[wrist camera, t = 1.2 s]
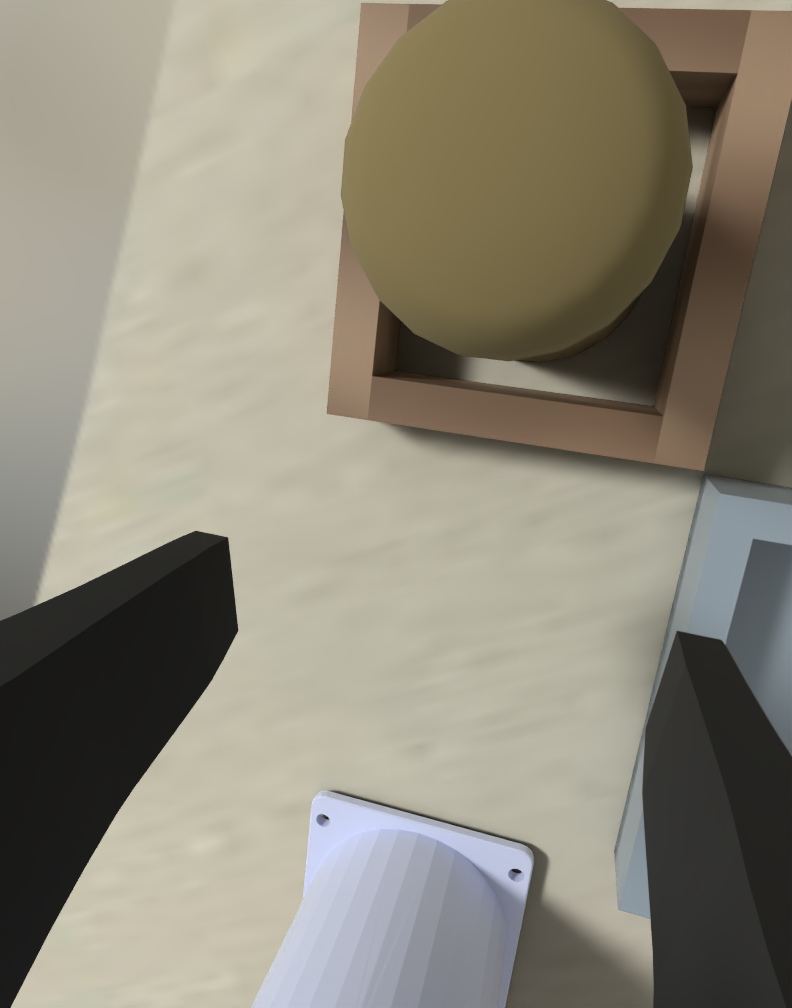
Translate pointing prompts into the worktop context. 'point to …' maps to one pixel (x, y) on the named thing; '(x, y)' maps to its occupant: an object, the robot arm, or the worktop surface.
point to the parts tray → (725, 627)
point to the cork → (516, 175)
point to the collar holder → (704, 281)
